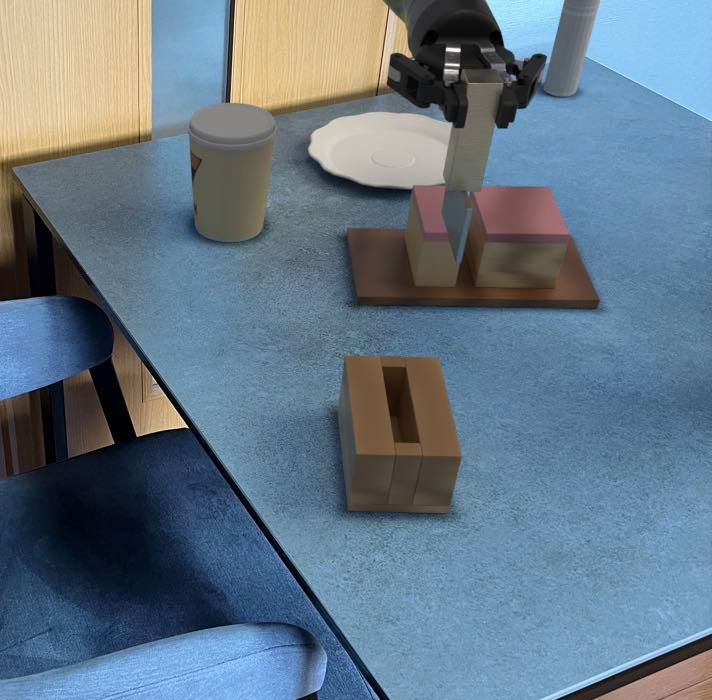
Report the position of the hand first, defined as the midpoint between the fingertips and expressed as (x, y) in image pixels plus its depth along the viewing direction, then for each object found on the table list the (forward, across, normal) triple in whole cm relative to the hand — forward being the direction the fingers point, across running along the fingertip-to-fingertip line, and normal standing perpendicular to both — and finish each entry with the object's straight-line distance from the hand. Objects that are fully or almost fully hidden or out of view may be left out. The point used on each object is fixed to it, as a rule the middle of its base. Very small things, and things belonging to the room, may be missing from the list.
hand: (484, 116), depth 81 cm
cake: (-16, +6, +23) cm, 29 cm away
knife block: (+15, -6, +23) cm, 28 cm away
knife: (-3, 0, +12) cm, 12 cm away
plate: (-42, 0, +23) cm, 48 cm away
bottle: (-64, +26, +23) cm, 73 cm away
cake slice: (-16, +1, +22) cm, 27 cm away
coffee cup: (-25, -20, +23) cm, 39 cm away
